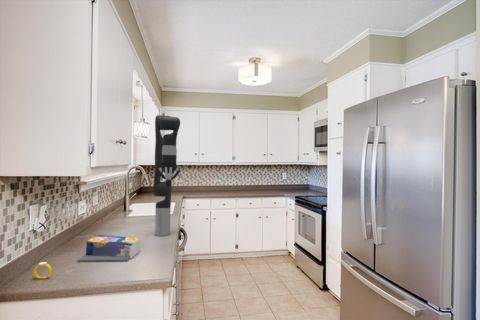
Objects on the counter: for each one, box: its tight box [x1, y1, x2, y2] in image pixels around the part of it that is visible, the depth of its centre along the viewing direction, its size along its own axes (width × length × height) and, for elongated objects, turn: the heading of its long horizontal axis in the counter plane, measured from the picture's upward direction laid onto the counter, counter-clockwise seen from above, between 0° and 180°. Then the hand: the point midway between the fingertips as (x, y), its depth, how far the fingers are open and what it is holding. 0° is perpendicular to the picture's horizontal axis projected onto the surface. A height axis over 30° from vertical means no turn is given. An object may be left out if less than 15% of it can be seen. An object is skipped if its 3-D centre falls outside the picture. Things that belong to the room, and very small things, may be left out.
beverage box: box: [85, 234, 142, 260], centre depth 139 cm, size 7×11×22 cm
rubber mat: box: [76, 253, 131, 263], centre depth 136 cm, size 16×22×1 cm
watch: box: [33, 261, 53, 280], centre depth 110 cm, size 6×3×6 cm, turn 97°
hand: (168, 186), depth 149 cm, fingers closed
